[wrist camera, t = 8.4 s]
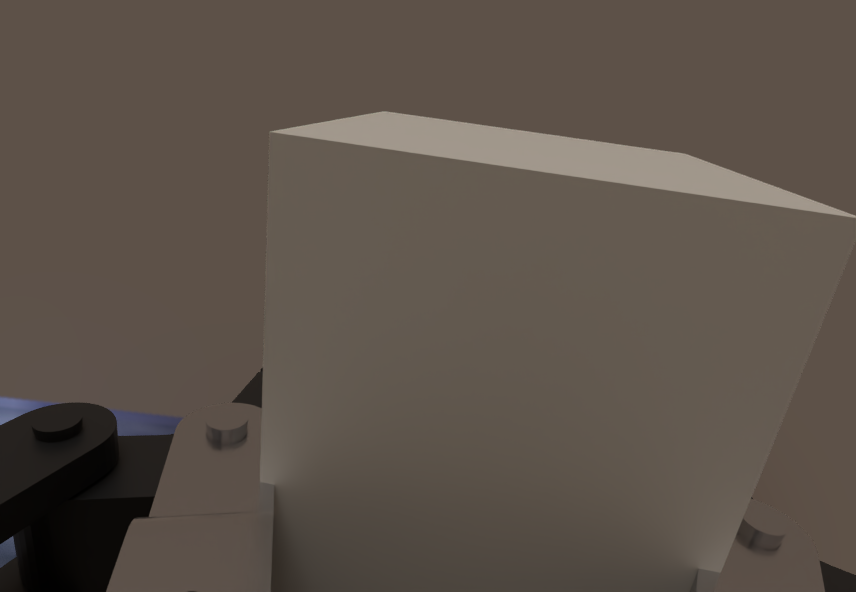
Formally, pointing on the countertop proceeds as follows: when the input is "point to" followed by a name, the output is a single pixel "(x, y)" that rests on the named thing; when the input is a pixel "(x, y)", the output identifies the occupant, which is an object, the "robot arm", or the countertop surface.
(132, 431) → the countertop surface
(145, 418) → the countertop surface
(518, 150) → the cream block
